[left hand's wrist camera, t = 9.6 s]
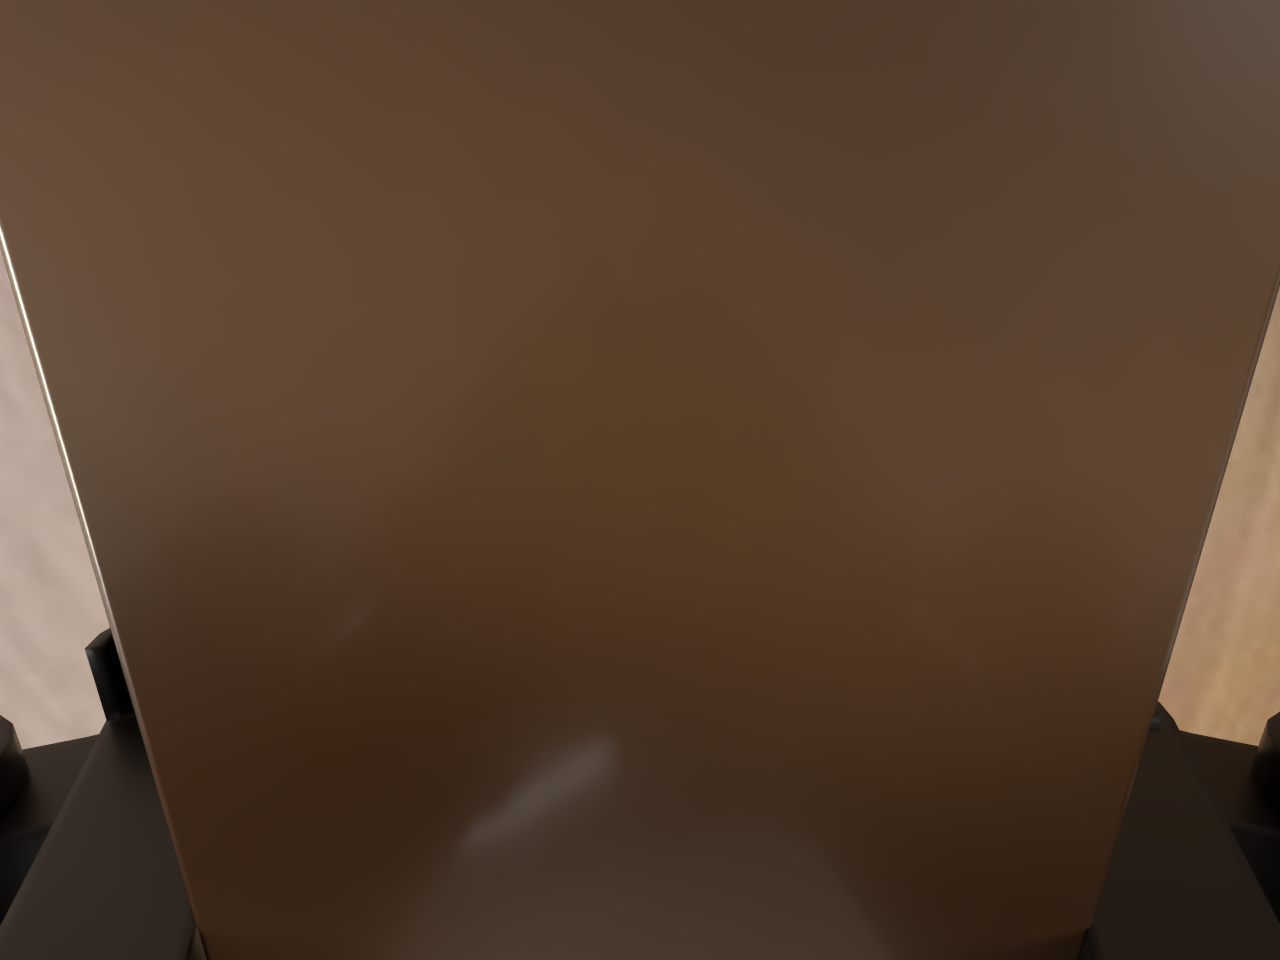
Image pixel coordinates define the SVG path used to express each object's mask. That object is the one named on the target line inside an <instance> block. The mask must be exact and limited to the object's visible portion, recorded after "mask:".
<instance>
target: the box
mask: <svg viewBox="0 0 1280 960" xmlns="http://www.w3.org/2000/svg"><path fill="white" fill-rule="evenodd" d="M0 249H1V252H2V256H3V259H4V263H5V266H6V269H7V273H8V276H9V280H10V283H11V287H12V290H13V294H14V297H15V300H16V304H17V307H18V311H19V314H20V318H21V321H22V325H23V328H24V331H25V335H26V338H27V342H28V345H29V349H30V352H31V356H32V359H33V362H34V366H35V369H36V373H37V376H38V380H39V383H40V387H41V390H42V394H43V397H44V400H45V404H46V407H47V411H48V414H49V418H50V421H51V425H52V428H53V431H54V435H55V438H56V442H57V445H58V449H59V452H60V456H61V459H62V462H63V466H64V469H65V473H66V476H67V480H68V483H69V487H70V490H71V494H72V497H73V500H74V504H75V507H76V511H77V514H78V518H79V521H80V525H81V528H82V531H83V535H84V538H85V542H86V545H87V549H88V552H89V556H90V559H91V562H92V566H93V569H94V573H95V576H96V580H97V583H98V587H99V590H100V593H101V597H102V600H103V604H104V607H105V611H106V614H107V618H108V621H109V625H110V628H111V631H112V635H113V638H114V642H115V645H116V649H117V652H118V656H119V659H120V662H121V666H122V669H123V673H124V676H125V680H126V683H127V687H128V690H129V693H130V697H131V700H132V704H133V707H134V711H135V714H136V718H137V721H138V725H139V728H140V731H141V735H142V738H143V742H144V745H145V749H146V752H147V756H148V759H149V762H150V766H151V769H152V773H153V776H154V780H155V783H156V787H157V790H158V793H159V797H160V800H161V804H162V807H163V811H164V814H165V818H166V821H167V825H168V828H169V831H170V835H171V838H172V842H173V845H174V849H175V852H176V856H177V859H178V862H179V866H180V869H181V873H182V876H183V880H184V883H185V887H186V890H187V893H188V897H189V900H190V904H191V907H192V911H193V914H194V918H195V921H196V924H197V928H198V931H199V935H200V938H201V942H202V945H203V949H204V952H205V956H206V959H207V960H1078V959H1079V955H1080V952H1081V948H1082V945H1083V942H1084V938H1085V935H1086V931H1087V928H1089V927H1091V926H1092V923H1093V919H1094V916H1095V912H1096V909H1097V906H1098V902H1099V899H1100V895H1101V892H1102V889H1103V885H1104V882H1105V878H1106V875H1107V872H1108V868H1109V865H1110V861H1111V858H1112V855H1113V851H1114V848H1115V844H1116V841H1117V838H1118V834H1119V831H1120V827H1121V824H1122V821H1123V817H1124V814H1125V810H1126V807H1127V804H1128V800H1129V797H1130V793H1131V790H1132V787H1133V783H1134V780H1135V776H1136V773H1137V770H1138V766H1139V763H1140V759H1141V756H1142V753H1143V749H1144V746H1145V742H1146V739H1147V736H1148V732H1149V729H1150V725H1151V722H1152V719H1153V715H1154V712H1155V708H1156V705H1157V702H1158V698H1159V695H1160V691H1161V688H1162V685H1163V681H1164V678H1165V674H1166V671H1167V668H1168V664H1169V661H1170V657H1171V654H1172V651H1173V647H1174V644H1175V640H1176V637H1177V634H1178V630H1179V627H1180V623H1181V620H1182V616H1183V613H1184V610H1185V606H1186V603H1187V599H1188V596H1189V593H1190V589H1191V586H1192V582H1193V579H1194V576H1195V572H1196V569H1197V565H1198V562H1199V559H1200V555H1201V552H1202V548H1203V545H1204V542H1205V538H1206V535H1207V531H1208V528H1209V525H1210V521H1211V518H1212V514H1213V511H1214V508H1215V504H1216V501H1217V497H1218V494H1219V491H1220V487H1221V484H1222V480H1223V477H1224V474H1225V470H1226V467H1227V463H1228V460H1229V457H1230V453H1231V450H1232V446H1233V443H1234V440H1235V436H1236V433H1237V429H1238V426H1239V423H1240V419H1241V416H1242V412H1243V409H1244V406H1245V402H1246V399H1247V395H1248V392H1249V389H1250V385H1251V382H1252V378H1253V375H1254V372H1255V368H1256V365H1257V361H1258V358H1259V355H1260V351H1261V348H1262V344H1263V341H1264V338H1265V334H1266V331H1267V327H1268V324H1269V321H1270V317H1271V314H1272V310H1273V307H1274V304H1275V300H1276V297H1277V293H1278V290H1279V287H1280V0H0Z"/></svg>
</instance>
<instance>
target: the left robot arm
mask: <svg viewBox="0 0 1280 960" xmlns="http://www.w3.org/2000/svg"><path fill="white" fill-rule="evenodd" d="M85 651H86V654H87V657H88V660H89V664H90V667H91V670H92V674H93V677H94V680H95V683H96V687H97V690H98V693H99V697H100V700H101V703H102V707H103V710H104V713H105V716H106V722H105V724H104V726H103V728H102V730H101V732H100V734H98V735H94V736H90V737H85V738H80V739H75V740H70V741H65V742H60V743H54V744H49V745H44V746H39V747H34V748H29V749H24V750H22V748H21V745H20V743H19V740H18V737H17V734H16V732H15V729H14V726H13V724H12V723H11V722H10V721H8V720H7V719H5V718H4V717H2V716H1V715H0V960H207V959H206V956H205V952H204V949H203V945H202V942H201V938H200V935H199V931H198V928H197V924H196V921H195V918H194V914H193V911H192V907H191V904H190V900H189V897H188V893H187V890H186V887H185V883H184V880H183V876H182V873H181V869H180V866H179V862H178V859H177V856H176V852H175V849H174V845H173V842H172V838H171V835H170V831H169V828H168V825H167V821H166V818H165V814H164V811H163V807H162V804H161V800H160V797H159V793H158V790H157V787H156V783H155V780H154V776H153V773H152V769H151V766H150V762H149V759H148V756H147V752H146V749H145V745H144V742H143V738H142V735H141V731H140V728H139V725H138V721H137V718H136V714H135V711H134V707H133V704H132V700H131V697H130V693H129V690H128V687H127V683H126V680H125V676H124V673H123V669H122V666H121V662H120V659H119V656H118V652H117V649H116V645H115V642H114V638H113V635H112V631H111V628H109V629H107V630H106V631H104V632H102V633H100V634H99V635H98V636H97V637H96V638H95V639H94V640H93V641H92V642H91V643H90V644H89V645H88V646H87V647H86V648H85ZM1078 960H1280V712H1279V713H1277V714H1276V715H1274V716H1273V717H1271V718H1270V719H1268V721H1267V724H1266V726H1265V729H1264V732H1263V735H1262V738H1261V740H1260V743H1259V746H1254V745H1249V744H1244V743H1239V742H1234V741H1228V740H1223V739H1218V738H1213V737H1208V736H1203V735H1198V734H1193V733H1188V732H1184V731H1181V730H1179V729H1178V727H1177V725H1176V723H1175V721H1174V719H1173V718H1172V717H1171V716H1170V714H1169V713H1168V712H1167V711H1166V710H1165V708H1164V707H1163V706H1162V705H1161V704H1160V703H1159V702H1157V705H1156V708H1155V712H1154V715H1153V719H1152V722H1151V725H1150V729H1149V732H1148V736H1147V739H1146V742H1145V746H1144V749H1143V753H1142V756H1141V759H1140V763H1139V766H1138V770H1137V773H1136V776H1135V780H1134V783H1133V787H1132V790H1131V793H1130V797H1129V800H1128V804H1127V807H1126V810H1125V814H1124V817H1123V821H1122V824H1121V827H1120V831H1119V834H1118V838H1117V841H1116V844H1115V848H1114V851H1113V855H1112V858H1111V861H1110V865H1109V868H1108V872H1107V875H1106V878H1105V882H1104V885H1103V889H1102V892H1101V895H1100V899H1099V902H1098V906H1097V909H1096V912H1095V916H1094V919H1093V923H1092V926H1091V927H1089V928H1087V931H1086V935H1085V938H1084V942H1083V945H1082V948H1081V952H1080V955H1079V959H1078Z"/></svg>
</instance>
